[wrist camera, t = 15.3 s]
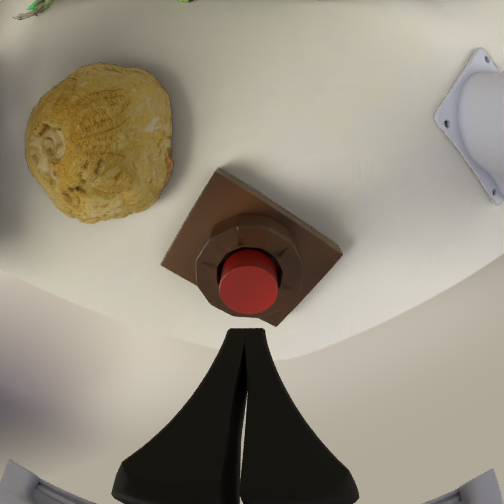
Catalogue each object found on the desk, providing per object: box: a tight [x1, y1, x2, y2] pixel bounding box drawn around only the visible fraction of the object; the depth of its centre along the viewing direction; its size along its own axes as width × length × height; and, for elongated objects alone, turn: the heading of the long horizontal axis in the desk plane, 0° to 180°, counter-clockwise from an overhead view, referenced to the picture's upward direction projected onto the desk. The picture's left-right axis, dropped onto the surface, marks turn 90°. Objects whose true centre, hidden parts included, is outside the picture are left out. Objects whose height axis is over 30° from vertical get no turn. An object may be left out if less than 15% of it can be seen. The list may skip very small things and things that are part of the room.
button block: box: [161, 167, 343, 327], centre depth 17 cm, size 9×7×3 cm
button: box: [219, 250, 278, 314], centre depth 15 cm, size 3×3×2 cm
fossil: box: [25, 63, 174, 223], centre depth 13 cm, size 11×6×10 cm
